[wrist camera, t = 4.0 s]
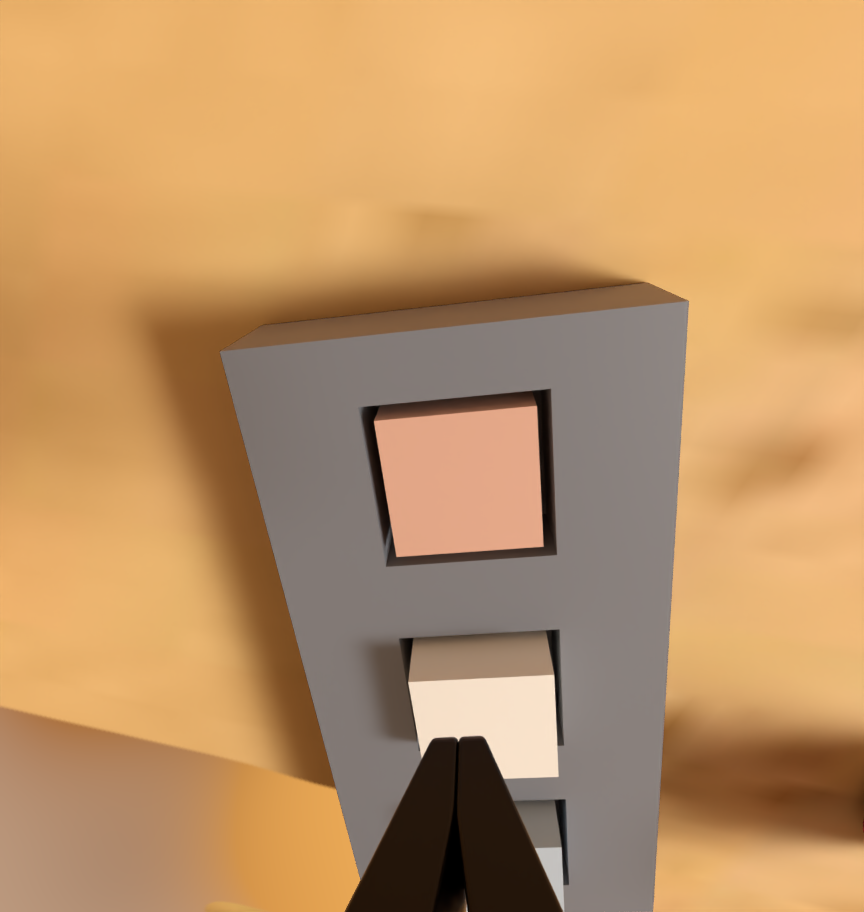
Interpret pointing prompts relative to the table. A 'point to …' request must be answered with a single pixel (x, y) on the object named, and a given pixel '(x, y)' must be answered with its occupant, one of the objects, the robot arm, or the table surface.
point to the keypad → (485, 572)
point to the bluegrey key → (545, 839)
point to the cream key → (489, 696)
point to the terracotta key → (462, 473)
